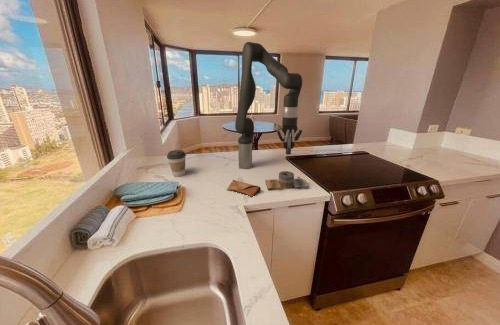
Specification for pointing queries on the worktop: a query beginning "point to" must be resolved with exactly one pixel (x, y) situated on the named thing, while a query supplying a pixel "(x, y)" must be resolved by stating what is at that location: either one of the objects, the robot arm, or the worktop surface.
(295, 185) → the hinge leaves
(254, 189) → the sunglasses case
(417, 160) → the worktop surface
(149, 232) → the worktop surface
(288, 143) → the hinge pin
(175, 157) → the coffee cup
